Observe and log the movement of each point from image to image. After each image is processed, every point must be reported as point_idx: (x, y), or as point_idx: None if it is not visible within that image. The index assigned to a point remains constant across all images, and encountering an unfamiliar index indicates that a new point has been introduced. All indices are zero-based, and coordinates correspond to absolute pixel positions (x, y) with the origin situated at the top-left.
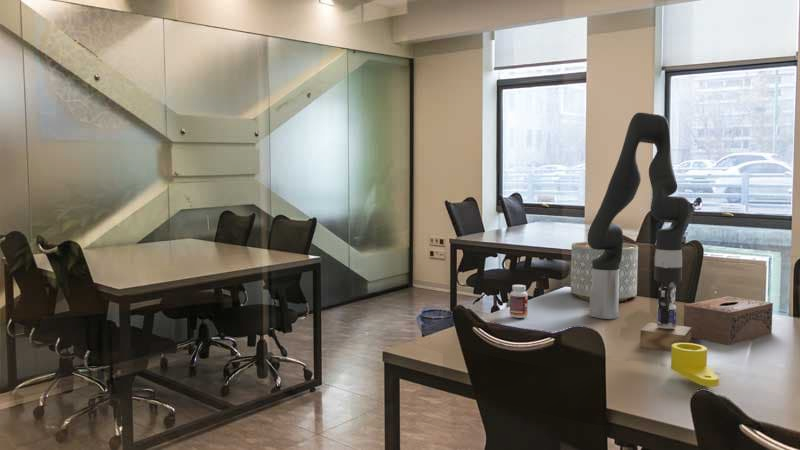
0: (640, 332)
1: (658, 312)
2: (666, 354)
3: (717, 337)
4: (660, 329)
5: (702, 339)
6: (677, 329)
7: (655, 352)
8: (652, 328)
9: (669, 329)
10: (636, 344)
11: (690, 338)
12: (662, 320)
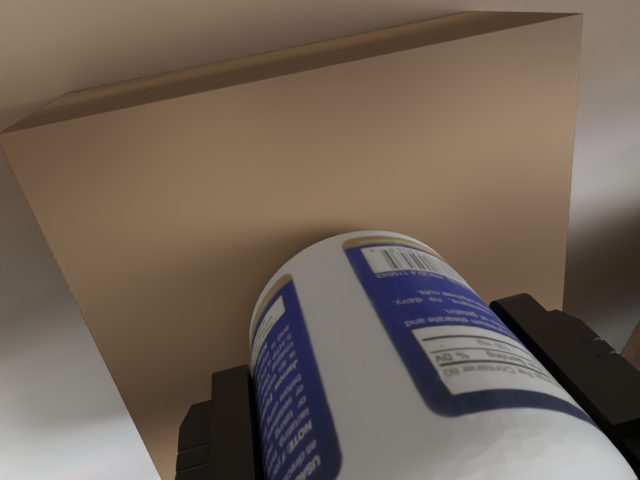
0: (9, 127)
1: (302, 418)
2: (36, 352)
3: None
4: (259, 293)
5: (638, 325)
6: None
7: (13, 274)
8: (242, 206)
9: None
10: (144, 12)
11: None
12: (186, 439)
